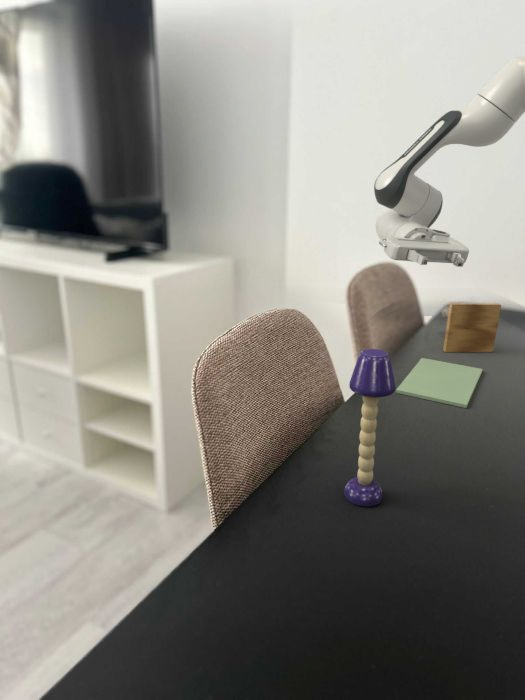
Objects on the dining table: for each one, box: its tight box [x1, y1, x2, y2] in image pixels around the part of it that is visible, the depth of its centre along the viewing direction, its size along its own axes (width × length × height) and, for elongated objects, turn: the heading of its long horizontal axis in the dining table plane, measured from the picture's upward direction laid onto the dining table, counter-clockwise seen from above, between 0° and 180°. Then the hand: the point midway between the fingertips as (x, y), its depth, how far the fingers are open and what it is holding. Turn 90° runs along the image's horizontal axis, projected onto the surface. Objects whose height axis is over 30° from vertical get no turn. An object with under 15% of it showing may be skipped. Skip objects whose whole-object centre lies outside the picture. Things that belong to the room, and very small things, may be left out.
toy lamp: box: [343, 348, 396, 508], centre depth 54 cm, size 5×5×17 cm
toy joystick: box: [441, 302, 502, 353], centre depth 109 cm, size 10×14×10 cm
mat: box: [395, 357, 484, 409], centre depth 89 cm, size 18×11×1 cm, turn 151°
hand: (443, 262), depth 116 cm, fingers open, 8 cm apart
